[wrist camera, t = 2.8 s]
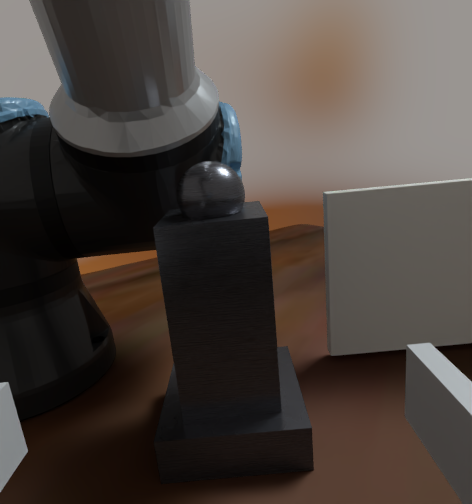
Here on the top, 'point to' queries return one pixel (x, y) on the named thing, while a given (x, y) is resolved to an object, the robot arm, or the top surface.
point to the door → (398, 266)
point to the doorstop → (224, 340)
